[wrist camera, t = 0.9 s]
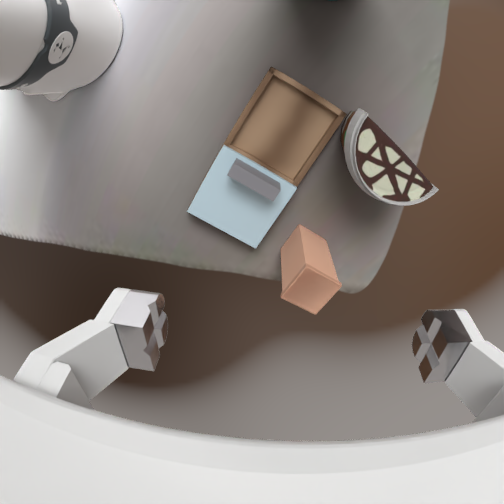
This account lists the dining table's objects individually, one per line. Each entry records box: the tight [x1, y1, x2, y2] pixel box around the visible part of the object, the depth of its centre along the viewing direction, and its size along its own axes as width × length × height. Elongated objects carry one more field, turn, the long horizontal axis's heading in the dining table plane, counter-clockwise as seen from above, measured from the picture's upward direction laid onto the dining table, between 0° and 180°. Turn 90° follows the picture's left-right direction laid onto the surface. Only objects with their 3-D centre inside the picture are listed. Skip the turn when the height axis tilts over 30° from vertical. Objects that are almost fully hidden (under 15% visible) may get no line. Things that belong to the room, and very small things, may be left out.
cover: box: [187, 145, 297, 249], centre depth 38 cm, size 10×10×4 cm
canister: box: [281, 224, 342, 315], centre depth 40 cm, size 5×5×11 cm
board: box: [187, 67, 347, 210], centre depth 38 cm, size 10×21×1 cm, turn 150°
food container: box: [341, 108, 438, 206], centre depth 33 cm, size 12×6×10 cm, turn 53°
